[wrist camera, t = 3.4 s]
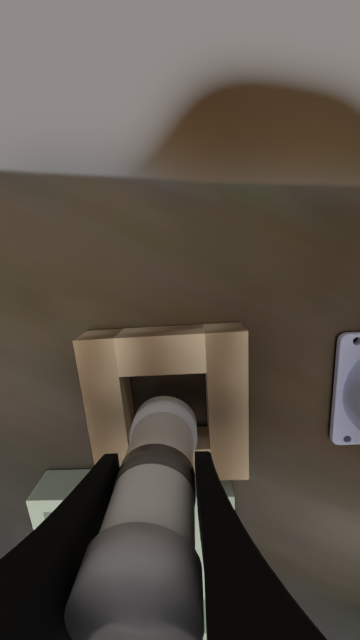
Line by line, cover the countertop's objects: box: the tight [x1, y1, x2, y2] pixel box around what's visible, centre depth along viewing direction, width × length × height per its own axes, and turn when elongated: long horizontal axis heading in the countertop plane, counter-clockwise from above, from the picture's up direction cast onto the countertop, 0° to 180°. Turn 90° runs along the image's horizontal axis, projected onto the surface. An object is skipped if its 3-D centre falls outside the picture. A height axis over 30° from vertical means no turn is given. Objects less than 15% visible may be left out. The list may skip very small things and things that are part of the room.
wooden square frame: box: [73, 322, 249, 481], centre depth 16 cm, size 10×10×2 cm
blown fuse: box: [64, 396, 204, 640], centre depth 10 cm, size 4×4×8 cm
